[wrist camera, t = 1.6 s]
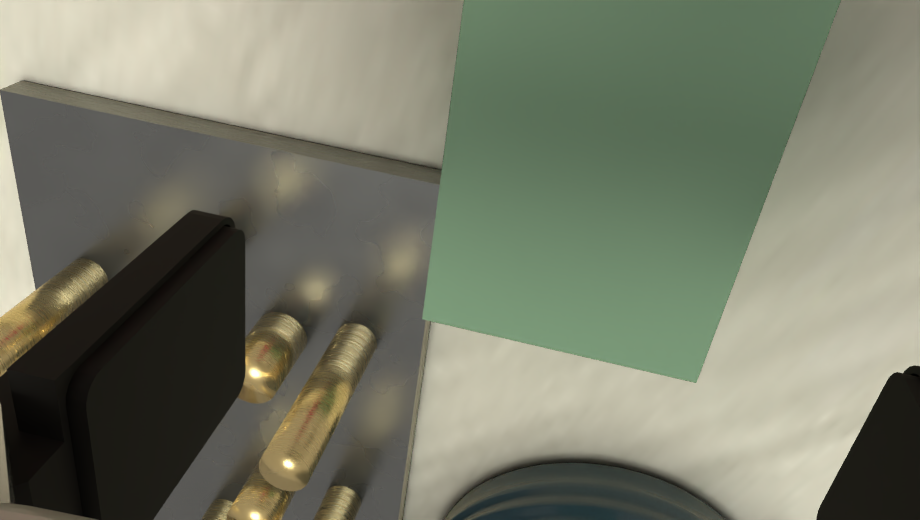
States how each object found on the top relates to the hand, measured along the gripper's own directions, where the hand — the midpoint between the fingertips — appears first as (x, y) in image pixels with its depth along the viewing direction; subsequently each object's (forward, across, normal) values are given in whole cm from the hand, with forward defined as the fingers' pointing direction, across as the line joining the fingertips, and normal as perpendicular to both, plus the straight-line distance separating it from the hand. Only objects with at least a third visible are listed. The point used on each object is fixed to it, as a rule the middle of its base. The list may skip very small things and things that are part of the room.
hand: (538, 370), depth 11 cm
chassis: (+12, +10, +12) cm, 20 cm away
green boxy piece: (+12, -1, -1) cm, 12 cm away
